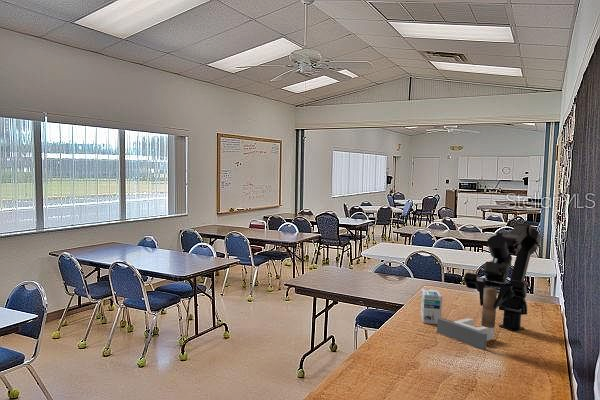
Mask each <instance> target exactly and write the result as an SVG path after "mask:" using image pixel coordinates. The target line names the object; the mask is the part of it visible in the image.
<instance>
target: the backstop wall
mask: <svg viewBox="0 0 600 400" xmlns="http://www.w3.org/2000/svg"><path fill="white" fill-rule="evenodd" d="M436 327H437V330H436V333H437V334H439V333H440V335H442V334H443V335H442V336H444V335H446V336H445V337H447V336H448V338H450V337H451V339H453V338H454V339H453V340H455V339H456V341H458V342H461V343H464V344H466V345H469V346H471V347H474V348H477V349H479V350H486V349H487V342H488V341H487V333H484V332H481V331H478V330H475V329H472V328H469V327H466V326H463V325H460V324H457V323H454V321H451V320H447V319H446V318H445V319H444V318H442V317H441V318H438V323H437V324H436Z"/></svg>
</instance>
